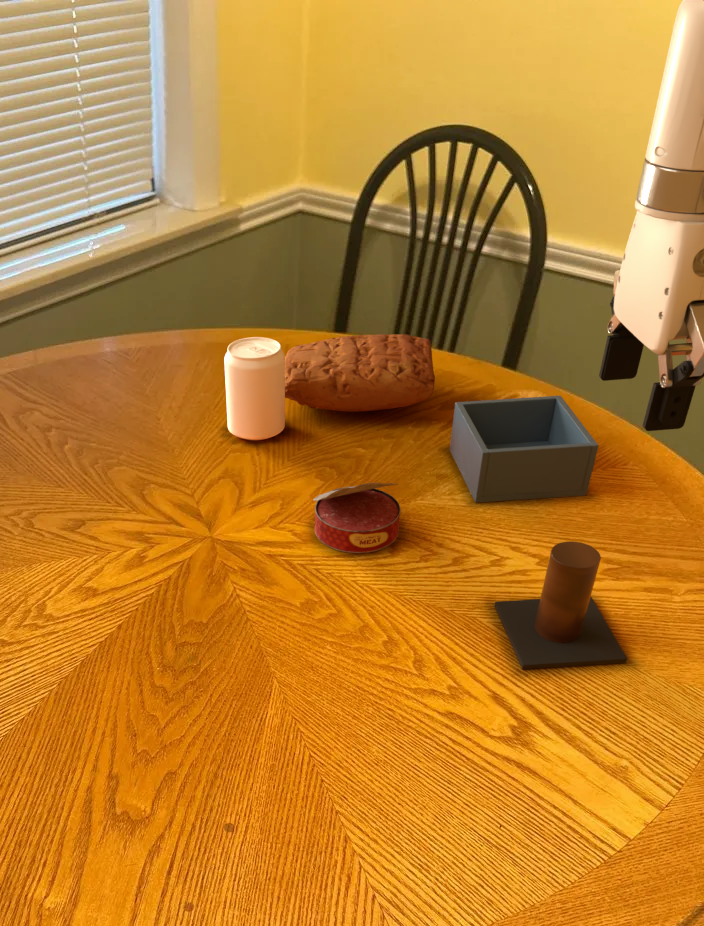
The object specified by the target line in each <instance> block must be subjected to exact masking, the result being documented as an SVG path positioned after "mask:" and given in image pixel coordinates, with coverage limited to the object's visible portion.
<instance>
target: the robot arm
mask: <svg viewBox="0 0 704 926" xmlns="http://www.w3.org/2000/svg"><path fill="white" fill-rule="evenodd" d="M666 55H667V56H666V60H665V65H664V69H663V74H662V77H661V78H662V79H661V83H660V88H659V93H658V97H657V101H656V106H655V110H654V115H653V118H652V119H653V120H652V124H651V129H650V132H649V137H648V142H647V147H646V152H645V154H644V155H645V156H644V160H643V165H642V168H641V169H642V170H641V174H640V179H639V183H638V188H637V193H636V197H635V202H634V208H635V210H636V214H635V216H634V220H633V223H632V226H631V229H630V231H629V232H630V233H629V236H628V239H627V242H626V247H625V250H624V253H623V257H622V261H621V265H620V268H619V269H616V270H615V271H614V274H613V296H612V298H611V300H610V302H609V307H610V310H611V318H610V319H609V320H608V323H607V327H606V328H607V329H606V330H607V333H608V334H609V335H607V337H606V342H605V346H604V351H603V355H602V360H601V365H600V369H599V373H598V377H599V379H600V380H601V381H603V382H607V381H621V380H632V379H634V378H636V377H637V374H638V370H639V366H640V364H641V363H640V362H641V359H642V354H643V351H644V347H646V348H647V349H649V350H650V351H651V352H653V354H656V355H657V363H658V375H659V376H658V377H659V382H653V384H652V388H651V391H650V395H649V400H648V403H647V407H646V411H645V415H644V417H643V421H642V427H643V428H644V430H645V431H647V432H655V431H656V432H657V431H666V430H667V431H668V430H679V429H682V428H683V427H684V426H685V423H686V421H687V416H688V414H689V410H690V407H691V403H692V399H693V396H694V393H695V390H696V386H699V385H700V384H701V383H702V379H703V378H704V0H682V1H681V2H680V4H679V6H678V9H677V11H676V16H675V20H674V23H673V26H672V33H671V37H670V42H669V46H668V52H667V54H666ZM685 339H686V342H685V343H674V344H673V343H672V344H670V341H677V340H685ZM684 355H685V360H684V361H682V362H680V363H679V364H678V365H677V366H675V367H674V362H673V356H684Z"/></svg>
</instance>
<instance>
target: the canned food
mask: <svg viewBox="0 0 704 926" xmlns="http://www.w3.org/2000/svg"><path fill="white" fill-rule="evenodd" d="M395 485H399V483H389V482H388V483H386V482H385V483H384V482H368V483H362V484H358V485H355V486H353V485H352V486H344V487H339V488H335V489H332V490H329V491H327V492H325V493H321V494H319V495H318V496H316V497H314V498H313V502H315V506H314V510H315V511H314V513H315V514H314V518H315V519H314V533H315V537H317V539H318V540H319V542H320V543H322V544H323V545H324V546H325V547H326V546H327V547H328V548H330V549H333V550H336V551H338V552H343V553H350V554H366V553H368V554H369V553H374V552H377V551H380V550H383V549H386V548H387V547H389V546H390V545H392V544H393V543H394V542H395V541H396V539H397V538H398V536H399V533H400V532H399V531H400V530H399V529H400V518H401V512H402V510H401V505H400V503H399V501H398V500H397V499H396V498H395V497H394V496H393V495H392V494H390V493H388V492H385V491H384V490H381V489H380V488H385V487H390V486H391V487H392V486H395Z"/></svg>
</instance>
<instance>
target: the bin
mask: <svg viewBox="0 0 704 926" xmlns="http://www.w3.org/2000/svg"><path fill="white" fill-rule="evenodd" d="M453 411H454V412H453V418H452V426H451V434H450V435H451V436H450V442H449V452H450V454H451V455H452V458H453V460H454V461H455V464H456V466H457V468H458V470H459V472H460V474H461V477H462V478H463V480H464V483H465V485H466V487H467V489H468V491H469V493H470V495H471V497H472V499H473V501H474V503H475V504H477V503H493V502H509V501H525V500H539V499H541V500H542V499H553V498H569V497H586V496H588V492H589V486H590V482H591V478H592V475H593V474H592V473H593V470H594V467H595V462H596V458H597V454H598V449H599V444H598V442H597V441H596V440H595V438H594V437H593V436H592V435H591V433H590V432H589V431H588V429H587V428H586V427H585V426H584V424H583V423H582V421H581V420H580V419H579V417H578V416H577V415H576V414H575V412H574V410H572V409H571V407H570V406H569V404H567V402H566V401H565V399H564V398H563V397H562V395H549V396H548V395H545V396H532V397H531V396H530V397H516V398H501V399H486V400H485V399H484V400H483V399H482V400H470V401H455V402H454V409H453Z"/></svg>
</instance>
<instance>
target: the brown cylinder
mask: <svg viewBox="0 0 704 926" xmlns="http://www.w3.org/2000/svg"><path fill="white" fill-rule="evenodd" d="M601 556H602V555H601V554H600V552H599V551H598V549H596V548H595V547H594V546H592V545H590V544H587V543H584V542H580V541H573V540H572V541H561V542H558V543H556V544H554V546H553V547H552V548H551V549H550V554H549V559H548V563H547V568H546V572H545V576H544V581H543V585H542V590H541V593H540V594H541V595H540V598H539V599H540V603H539V607H538V612H537V616H536V621H535V630H536V632H537V633H538V634H539V635H540V636H541V637H543V638H544V639H546V640H549V641H552V642H557V643H568V642H572V641H574V640H576V639H577V638H579V636H580V634H581V631H582V627H583V623H584V619H585V616H586V612H587V608H588V605H589V601H590V597H592V593H593V589H594V586H595V583H596V579H597V576H598V575H597V574H598V571H599V568H600V564H601V561H602V557H601Z"/></svg>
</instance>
